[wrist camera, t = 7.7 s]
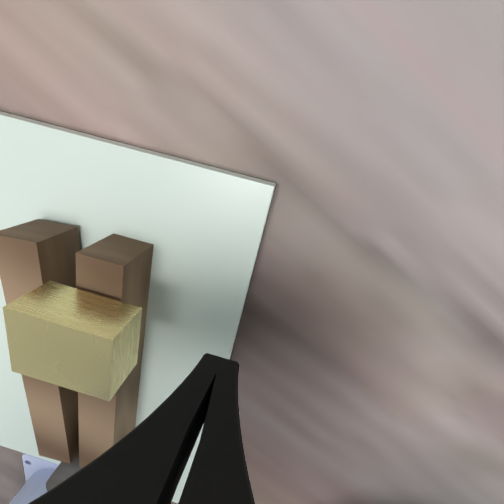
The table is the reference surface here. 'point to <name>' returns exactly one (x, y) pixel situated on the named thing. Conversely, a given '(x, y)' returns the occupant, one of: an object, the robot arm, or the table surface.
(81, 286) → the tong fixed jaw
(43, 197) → the serving board
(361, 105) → the table surface
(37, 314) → the pale yellow rectangular block
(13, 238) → the tong jaw
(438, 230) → the table surface
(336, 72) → the table surface
